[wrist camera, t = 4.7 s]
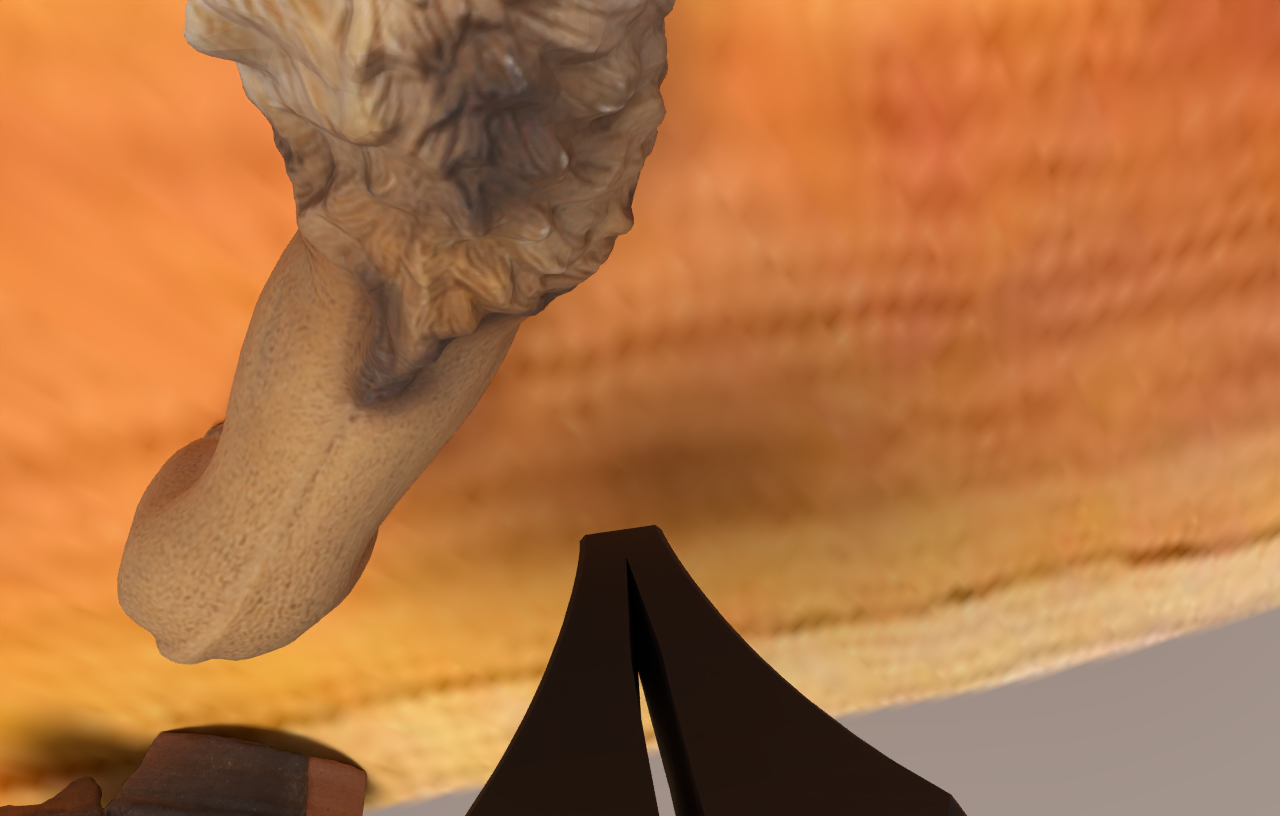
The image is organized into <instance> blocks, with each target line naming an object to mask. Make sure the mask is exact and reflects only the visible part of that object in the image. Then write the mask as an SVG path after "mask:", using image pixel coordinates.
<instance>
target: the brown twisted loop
mask: <svg viewBox="0 0 1280 816" xmlns="http://www.w3.org/2000/svg"><path fill="white" fill-rule="evenodd" d="M365 784H366V773H365V772H364V771H363V770H358V769H357V768H355V767H353V766H352V765H348V764H341V763H339V762H337V761H335V760H324V759H320V758H317V757H308V756H305V755H303V754H300V753H295V752H288V751H282V750H278V749H275V748H273V747H272V746H270V745H269V744H267V743H260V742H257V743H256V742H251V741H246V740H243V739H236V738H224V737H221V736H215V735H201V734H194V733H169V732H166V733H162V734H160V735H159V736H158V737H157V738H156V739H155V740H154V742H153V743H152V745H151V746H150V748H149V750H148V752H147V753H146V755H145V757H144V758H143V760H142V762H141V764H140V765H139V767H138V768H137V770H136V771H135V772H134V773H133V774H132V775H131V776H130V777H129V778H128V779H127V780H126V782H125V783H124V784H123V786H122V788H121V789H120V791H119V793H118V794H117V796H116V797H115V798H114V799H113V800H112V801H111V802H110V803H109V804H108V806H107V807H106V808H105V809H103V808H102V806H101V803H100V801H101V796H102V791H101V788H100V786H99V785H98V784H97V783H96V781H95V780H94V779H93V778H92V777H83V778H81V779H79V780H76V781H74V782H72V783H71V784H70V785H68V786H67V787H66V788H65V789H64V790H62V791H61V792H60V793H58V794H57V795H56V796H54V797H53V798H51V799H49V800H47V801H46V802H44V803H42V804H38V805H27V806H12V805H7V806H3V807H0V816H362V815H363V807H364V791H365Z"/></svg>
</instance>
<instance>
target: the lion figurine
mask: <svg viewBox="0 0 1280 816" xmlns="http://www.w3.org/2000/svg"><path fill="white" fill-rule="evenodd" d="M674 3H675V0H188V2H187V4H186V15H185V31H184V36H185V38H186V40H187V42H188V44H189V45H190V46H192V47H193V48H194V49H196V51H198V52H201V53H203V54H206V55H209V56H212V57H217V58H222V59H226V60H231V61H235V62H236V64H237V67H238V70H239V73H240V77H241V80H242V83H243V89H244V91H245V94H246V96H247V98H248V99H249V100H250V101H251V102H252V103H253V104H254V105H255V106H256V107H257V108H258V109H259V110H260V111H261V112H262V113H263V114H264V116H265V117H266V118H267V120H268V121H269V122H270V124H271V125H272V129H273V132H274V141H275V144H276V147H277V149H278V150H279V152H280V153H281V155H282V157H283V158H284V161H285V167H286V173H287V175H288V176H289V178H290V180H291V182H292V184H293V192H294V199H295V202H296V219H297V225H298V228H299V229H298V231H297V232H296V234H295V235H294V237H293V238H292V240H291V241H290V243H289V244H288V246H287V247H286V249H285V250H284V252H283V253H282V255H281V257H280V259H279V261H278V262H277V264H276V266H275V268H274V270H273V271H272V273H271V275H270V277H269V279H268V281H267V282H266V284H265V286H264V288H263V290H262V292H261V294H260V297H259V299H258V301H257V303H256V306H255V309H254V312H253V315H252V318H251V321H250V324H249V327H248V330H247V333H246V337H245V340H244V343H243V346H242V349H241V353H240V357H239V361H238V365H237V369H236V373H235V377H234V381H233V385H232V389H231V393H230V398H229V403H228V407H227V412H226V417H225V421H224V423H222V424H220V425H217V426H215V427H213V428H211V429H210V430H209V431H208V432H207V433H206V435H205V437H204V438H200V439H198V440H195V441H193V442H191V443H190V444H188V445H187V446H185V447H183V448H182V449H180V450H178V451H177V452H176V453H175V454H174V455H173V456H172V457H170V458H169V459H168V460H167V461H166V463H165V464H164V465H163V467H162V468H161V469H160V471H159V472H158V473H157V475H156V476H155V477H154V479H153V480H152V481H151V483H150V484H149V486H148V487H147V489H146V491H145V492H144V494H143V496H142V498H141V500H140V502H139V504H138V506H137V509H136V512H135V516H134V519H133V523H132V526H131V529H130V533H129V536H128V539H127V541H126V544H125V548H124V552H123V556H122V560H121V564H120V568H119V573H118V599H119V603H120V605H121V607H122V608H123V610H124V612H125V613H126V614H127V615H128V616H129V617H130V618H131V619H132V620H133V621H134V622H135V623H136V624H138V625H139V626H141V627H143V628H144V629H146V630H147V631H149V632H151V633H152V635H153V636H154V637H155V639H156V644H157V647H158V650H159V652H160V653H161V655H163V656H164V657H166V658H167V659H169V660H170V661H173V662H176V663H179V664H198V663H201V662H204V661H207V660H210V659H225V660H234V661H237V660H243V659H250V658H253V657H256V656H259V655H262V654H265V653H268V652H271V651H274V650H276V649H279V648H281V647H284V646H286V645H288V644H290V643H291V642H293V641H295V640H296V639H297V638H298V637H299V636H301V635H302V634H303V633H304V632H305V631H307V630H308V629H309V628H311V627H312V626H313V625H315V624H316V623H317V622H319V621H320V619H321V618H323V617H324V616H325V615H327V614H328V613H329V612H330V611H332V610H333V609H334V608H335V607H337V606H338V605H339V604H340V603H341V602H342V601H343V600H344V599H345V598H346V597H347V595H348V594H349V593H350V592H351V590H352V589H353V587H354V586H355V584H356V583H357V581H358V580H359V578H360V577H361V575H362V573H363V571H364V569H365V567H366V565H367V563H368V561H369V559H370V557H371V554H372V551H373V548H374V545H375V542H376V539H377V534H378V529H379V526H380V525H381V523H382V522H383V521H384V519H385V518H386V517H387V515H388V514H389V513H390V511H391V510H392V509H393V507H394V506H395V505H396V503H397V502H398V501H399V500H400V498H401V497H402V496H403V495H404V494H405V492H406V491H407V490H408V489H409V487H410V486H411V485H412V484H413V483H414V481H415V480H416V479H417V478H418V476H419V475H420V474H421V473H422V471H423V470H424V469H425V468H426V467H427V465H428V464H429V463H430V462H431V461H432V459H433V458H434V457H435V456H436V454H437V453H438V452H439V451H440V450H441V448H442V447H443V446H444V445H445V443H446V442H447V441H448V440H449V439H450V438H451V436H452V435H453V434H454V433H455V432H456V431H457V429H458V428H459V427H460V425H461V424H462V423H463V422H464V420H465V419H466V418H467V416H468V415H469V414H470V412H471V411H472V409H473V408H474V406H475V405H476V403H477V402H478V400H479V399H480V397H481V396H482V394H483V392H484V391H485V389H486V387H487V386H488V384H489V383H490V381H491V379H492V378H493V376H494V375H495V373H496V371H497V370H498V368H499V366H500V365H501V363H502V361H503V360H504V358H505V356H506V354H507V352H508V350H509V348H510V346H511V344H512V341H513V339H514V337H515V334H516V332H517V330H518V327H519V325H520V323H521V322H522V321H523V320H524V319H526V318H527V317H528V316H533V315H536V314H537V313H539V312H540V311H542V310H544V309H545V307H546V306H547V305H548V304H549V303H550V302H551V301H552V300H553V299H555V298H556V297H557V296H559V295H562V294H564V293H567V292H570V291H572V290H573V289H574V288H575V287H576V286H577V285H578V284H579V283H581V282H583V281H584V280H586V279H587V278H588V277H590V276H591V275H593V274H594V273H595V272H597V270H598V268H599V267H600V265H601V264H603V263H604V262H605V261H606V260H607V259H608V257H609V255H610V253H611V251H612V249H613V247H614V243H615V239H616V238H617V237H618V235H622V234H626V233H627V232H629V231H630V230H631V228H632V226H633V224H634V217H633V213H632V208H631V206H632V201H633V196H634V192H635V189H636V186H637V182H638V179H639V175H640V171H641V169H642V167H643V166H644V161H645V158H646V157H647V156H648V155H649V154H650V153H651V152H652V149H653V146H654V143H655V140H656V136H657V133H658V131H657V127H658V126H659V125H660V124H661V123H662V121H663V118H664V116H665V113H666V110H665V106H664V102H663V99H662V96H661V93H660V91H659V89H660V85H661V83H662V81H663V80H664V78H665V76H666V74H667V70H668V63H667V58H666V56H667V40H666V37H665V23H664V17H665V16H666V15H667V14H668V13H669V12H670V11H672V9H673V6H674Z"/></svg>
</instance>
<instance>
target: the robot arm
mask: <svg viewBox="0 0 1280 816" xmlns="http://www.w3.org/2000/svg"><path fill="white" fill-rule="evenodd" d="M638 672H639V676H640V680H641V683H642V687H643V691H644V695H645V698H646V702H647V706H648V710H649V714H650V717H651V721H652V725H653V728H654V732H655V736H656V740H657V743H658V747H659V751H660V755H661V758H662V762H663V766H664V770H665V773H666V777H667V781H668V784H669V788H670V793H671V797H672V801H673V806H674V810H675V815H676V816H967V815H966V814H965V812H964V811H963V810H962V808H961V807H960V806H959V804H958V803H957V802H956V800H955V799H954V798H953V796H952V795H951V794H949V793H947V792H946V791H944V790H942V789H941V788H939V787H937V786H936V785H934V784H932V783H930V782H928V781H927V780H925V779H923V778H922V777H920V776H918V775H917V774H915V773H913V772H911V771H910V770H908V769H906V768H904V767H903V766H901V765H899V764H898V763H896V762H895V761H893V760H891V759H889V758H888V757H887V756H885V755H883V754H882V753H881V752H879V751H878V750H877V749H875V748H874V747H872V746H871V745H869V744H868V743H866V742H865V741H863V740H861V739H860V738H859V737H857V736H856V735H854V734H853V733H852V732H850V731H849V730H848V729H847V728H845V727H844V726H842V725H841V724H840V723H838V722H837V721H836V720H835V719H833V718H832V717H831V716H829V715H828V714H827V713H825V712H824V711H823V710H822V709H820V708H819V707H818V706H816V705H815V704H814V703H812V702H811V701H810V700H808V699H807V698H806V697H805V696H804V695H802V694H801V693H800V692H799V691H798V690H797V689H795V688H794V687H793V686H792V685H791V684H790V683H789V682H787V681H786V680H785V679H784V678H783V677H782V676H781V675H779V674H778V673H777V672H776V671H775V670H774V669H773V668H772V667H771V666H770V665H769V664H768V663H767V662H765V661H764V660H763V659H762V658H761V657H760V656H759V655H758V654H757V653H756V652H755V651H754V650H753V649H752V648H751V647H750V646H749V645H748V644H747V643H746V642H745V640H744V639H743V638H742V637H741V636H740V635H739V634H738V633H737V632H736V631H735V630H734V629H733V627H732V626H731V625H730V624H729V623H728V622H727V621H726V620H725V619H724V617H723V616H722V615H721V614H720V613H719V612H718V610H717V609H716V608H715V607H714V606H713V604H712V603H711V602H710V601H709V599H708V598H707V597H706V596H705V594H704V593H703V592H702V591H701V589H700V588H699V587H698V586H697V584H696V583H695V582H694V580H693V579H692V577H691V576H690V575H689V573H688V572H687V571H686V569H685V568H684V566H683V565H682V563H681V562H680V560H679V559H678V557H677V556H676V554H675V553H674V551H673V550H672V548H671V546H670V545H669V543H668V541H667V539H666V538H665V536H664V534H663V532H662V530H661V529H660V528H659V527H657V526H656V525H651V526H644V527H638V528H631V529H624V530H617V531H610V532H603V533H596V534H589V535H585V536H584V537H583V538H582V539H581V540H580V552H579V561H578V567H577V573H576V577H575V582H574V586H573V590H572V594H571V598H570V601H569V604H568V608H567V611H566V615H565V618H564V622H563V625H562V628H561V631H560V634H559V636H558V639H557V641H556V644H555V647H554V649H553V652H552V655H551V657H550V660H549V663H548V665H547V668H546V670H545V673H544V675H543V677H542V680H541V682H540V684H539V687H538V689H537V691H536V693H535V695H534V697H533V700H532V702H531V704H530V706H529V708H528V710H527V712H526V714H525V716H524V718H523V720H522V722H521V724H520V726H519V727H518V729H517V731H516V733H515V735H514V737H513V739H512V740H511V742H510V744H509V746H508V748H507V750H506V752H505V753H504V755H503V757H502V758H501V760H500V762H499V764H498V765H497V767H496V769H495V770H494V772H493V774H492V775H491V777H490V778H489V780H488V781H487V783H486V784H485V786H484V787H483V789H482V791H481V792H480V794H479V795H478V797H477V798H476V800H475V801H474V803H473V804H472V806H471V807H470V809H469V811H468V812H467V814H466V815H465V816H659V812H658V807H657V802H656V796H655V791H654V786H653V780H652V775H651V770H650V764H649V759H648V753H647V748H646V743H645V737H644V731H643V726H642V720H641V708H640V692H639V677H638Z"/></svg>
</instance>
